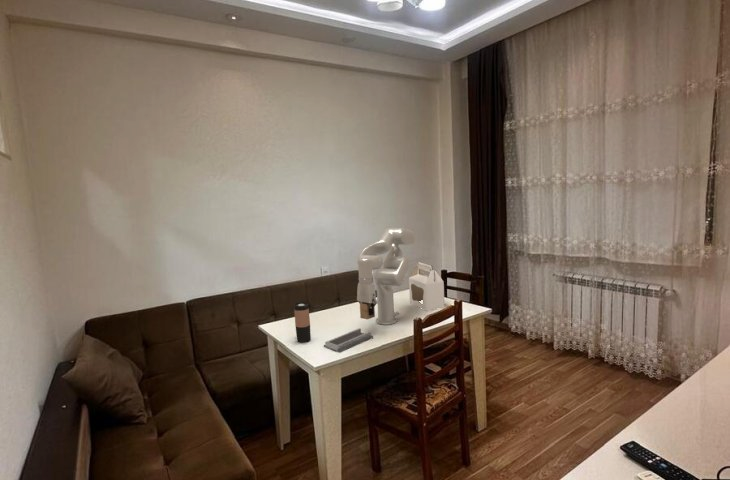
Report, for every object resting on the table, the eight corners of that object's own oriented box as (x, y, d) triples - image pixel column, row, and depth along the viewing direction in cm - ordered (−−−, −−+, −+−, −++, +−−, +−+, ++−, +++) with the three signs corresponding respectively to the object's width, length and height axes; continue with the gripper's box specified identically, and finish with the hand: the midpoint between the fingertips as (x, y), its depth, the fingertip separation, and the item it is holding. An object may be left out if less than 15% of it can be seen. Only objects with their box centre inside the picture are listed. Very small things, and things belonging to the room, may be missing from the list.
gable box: (409, 302, 263) (407, 262, 259) (426, 299, 268) (425, 259, 264) (426, 311, 242) (425, 267, 239) (444, 308, 247) (443, 264, 244)
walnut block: (368, 315, 213) (367, 300, 212) (374, 316, 209) (374, 302, 208) (360, 317, 208) (359, 303, 208) (367, 319, 205) (366, 304, 204)
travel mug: (297, 338, 209) (294, 302, 206) (311, 337, 209) (308, 301, 207) (296, 344, 201) (293, 306, 199) (310, 342, 202) (308, 305, 199)
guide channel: (357, 332, 213) (357, 327, 212) (373, 337, 204) (373, 332, 204) (323, 346, 196) (323, 341, 195) (339, 352, 187) (339, 347, 187)
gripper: (349, 280, 210) (351, 312, 212) (372, 284, 198) (374, 318, 200) (359, 277, 215) (361, 309, 217) (382, 281, 203) (384, 315, 205)
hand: (367, 313), depth 209 cm, fingers closed on walnut block, 5 cm apart
